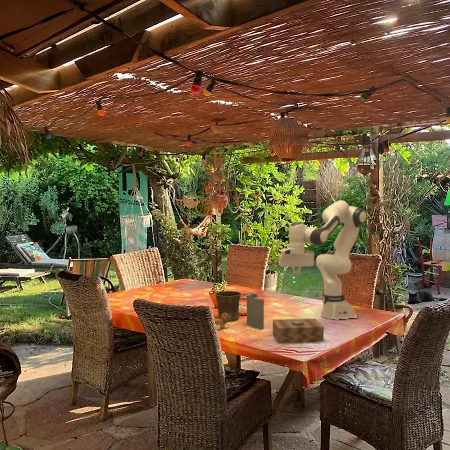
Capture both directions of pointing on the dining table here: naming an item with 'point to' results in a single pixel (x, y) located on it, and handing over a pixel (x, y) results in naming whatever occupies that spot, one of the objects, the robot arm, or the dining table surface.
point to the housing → (298, 331)
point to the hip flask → (255, 311)
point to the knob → (297, 322)
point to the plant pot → (228, 304)
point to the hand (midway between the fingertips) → (296, 274)
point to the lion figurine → (222, 320)
